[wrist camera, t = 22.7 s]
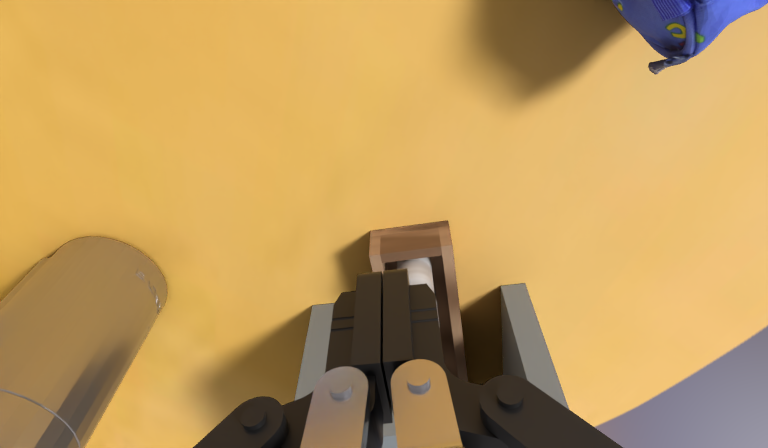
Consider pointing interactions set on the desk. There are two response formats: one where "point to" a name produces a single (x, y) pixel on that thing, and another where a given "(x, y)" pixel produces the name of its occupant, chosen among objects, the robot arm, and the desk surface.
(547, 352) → the grey bridge block
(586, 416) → the desk surface
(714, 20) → the pencil case
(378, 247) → the tray
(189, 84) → the desk surface
